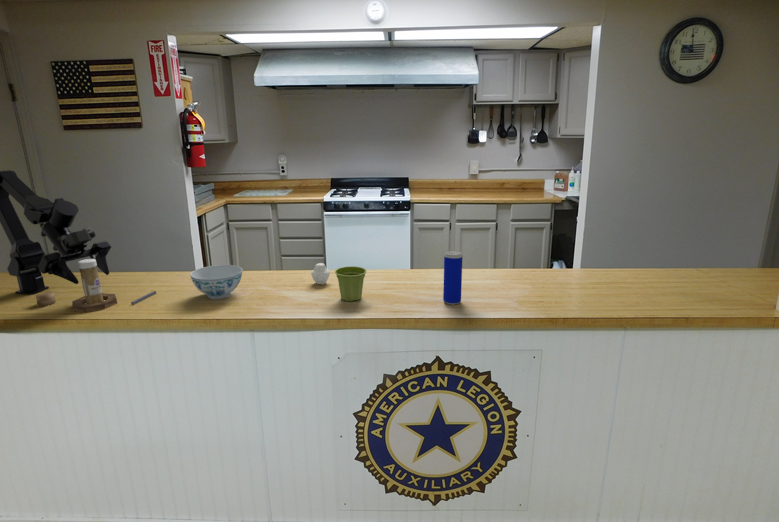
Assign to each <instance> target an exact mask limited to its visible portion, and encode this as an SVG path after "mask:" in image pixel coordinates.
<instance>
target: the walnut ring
mask: <svg viewBox="0 0 779 522" xmlns="http://www.w3.org/2000/svg"><path fill="white" fill-rule="evenodd" d="M102 296H103V300H105V301H103V302H100V303H94V304H87V302H86V297H85V295H84V296H82V297H79V298H77V299H75V300H72V301H71V305H72V306H71V307H72V311H74V312H81V311H86V312H85V313H88V312H87V311H90V312H93V310H95V311H100V310H99V309H101V310H105V308H106V309H108V308H110V307H112V306H114V305H117V304H118V299H117V296H116V294H115V293H107V292H106V293H105V292H102ZM85 303H86V304H85ZM107 307H108V308H107Z"/></svg>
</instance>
